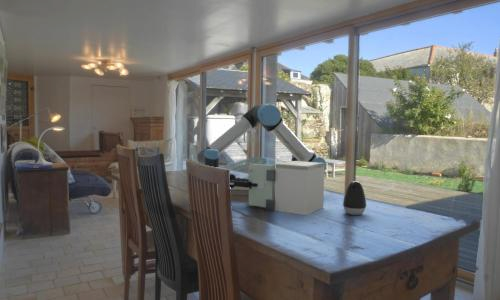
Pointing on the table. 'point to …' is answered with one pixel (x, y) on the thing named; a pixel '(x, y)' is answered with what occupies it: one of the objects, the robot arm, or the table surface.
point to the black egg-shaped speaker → (354, 199)
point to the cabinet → (299, 187)
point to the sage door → (259, 175)
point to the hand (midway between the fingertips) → (265, 185)
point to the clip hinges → (269, 203)
